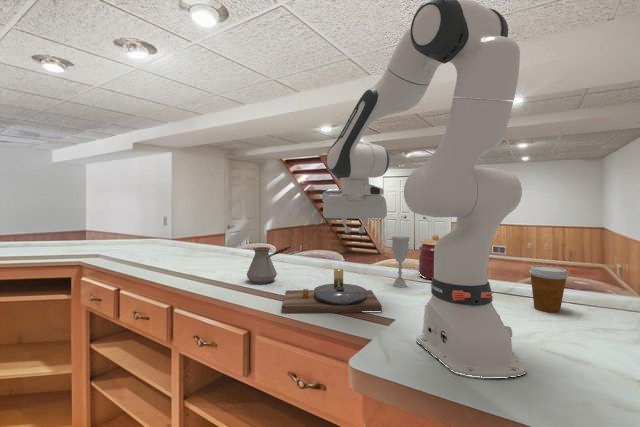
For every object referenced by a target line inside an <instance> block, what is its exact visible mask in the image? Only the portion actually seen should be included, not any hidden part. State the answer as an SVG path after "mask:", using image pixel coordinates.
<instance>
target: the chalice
mask: <svg viewBox="0 0 640 427" xmlns="http://www.w3.org/2000/svg"><path fill="white" fill-rule="evenodd" d="M390 237H391V242H392V244H391V245H392V248H391V250H392V254H393V256H394V258H395V261H396V262H398V267H397V268H398V271H397V274H398V277H397V278H395V280H394V282H393V284H392V286H393V287H394V288H395V287H396V288H406V287H407V284H406V280H405V279H404V278H403V277H402V274H403V272H402V269H403V267H402V263H403V262H405V260H406V258H407V256H408V253H409V248H410V247H409V246H410V245H409V242H410V239H411V238H410V237H411V236H406V235H393V236H390Z"/></svg>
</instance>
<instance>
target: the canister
mask: <svg viewBox="0 0 640 427" xmlns="http://www.w3.org/2000/svg"><path fill="white" fill-rule="evenodd" d="M431 237H432V238H427V239H424V240H423V241H421V244H422V245H420V246H419V247H418V250H419V254H418V259H419V260H418V273H419V272H420V274H421V275H422V276H424V277H426V278H429V279H432V277H433V276H434V247H435V245H436V243H437V241H438V240H439V239H440V236H439V235H438V234H433V235H432V236H431ZM429 279H428V280H429Z"/></svg>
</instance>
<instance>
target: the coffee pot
mask: <svg viewBox="0 0 640 427" xmlns="http://www.w3.org/2000/svg"><path fill="white" fill-rule="evenodd" d="M290 249H291V251H290ZM270 250H271V247H268V246H267V247H266V246H260V247H253V251H254V255H253V257H252V261H251V263H250V265H249V268H248V271H247V273H246V277H247V279H248V280H249V281H251V283H252V282H253V284H256V283H259V285H261V284H262V285H263V284H269V283H271V282H273V281H274V279H275V278H276V277H277V275H278V273H277V271H276V270H277V269H275V266H274V263H273V261H272V258H271V257H273V256H276V255H279V254H282V253H284V252H285V251H288V252H290V253H292V252H293V250H294V249H293V247H291V245H289V246H285V247H284V248H280V249H278V250H276V251H274V252H273V253H271V254H269V252H270Z"/></svg>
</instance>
